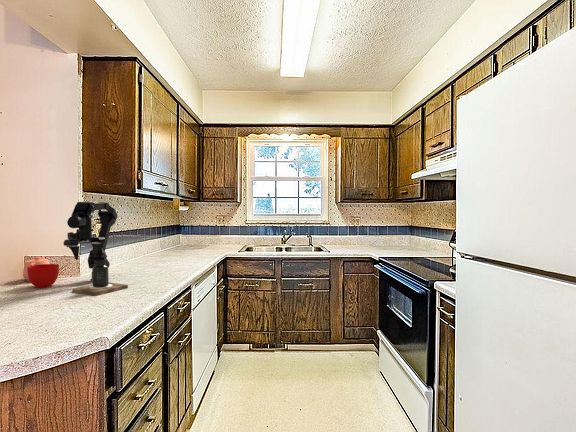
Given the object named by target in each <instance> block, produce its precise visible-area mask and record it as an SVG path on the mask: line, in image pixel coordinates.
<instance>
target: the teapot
mask: <svg viewBox="0 0 576 432" xmlns="http://www.w3.org/2000/svg"><path fill="white" fill-rule="evenodd" d="M41 264H51V263H50V261H49V259H48V258H45V255H42V256H41V257H40V256H34V257H33V259H28V260H26V261H25V263H24V266H23V270H22V271H23V272H22V277H23V278H24V279H25V280H26V282H30V280H29V278H28V273H27V267H29V266H33V265H41Z"/></svg>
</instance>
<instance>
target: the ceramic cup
mask: <svg viewBox="0 0 576 432" xmlns="http://www.w3.org/2000/svg"><path fill="white" fill-rule="evenodd" d="M59 271H60V265H59V264H57V263H50V264H41V265H33V266H29V267H27V273H28V278H29V280H30V281H29V282H30V283H31V285H33V286H34V287H35V288H36V289H43V288H44V289H45V288H50V287H52V286H53V284H55V282H56V281H57V280H58V277H59V273H60V272H59Z"/></svg>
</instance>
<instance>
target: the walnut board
mask: <svg viewBox="0 0 576 432" xmlns="http://www.w3.org/2000/svg"><path fill="white" fill-rule="evenodd" d="M128 285H129V284H124V283H117V282H110V281H109V285H108V286H105V287H93V283H92V284H88V285H84V286H83V285H82V286H78V287H73V288H71V292H72V293H76V294H77V293H78V294H83V295H89V296H94V297H95V296H96V297H97V296H100V295H104V294H109V293H113V292H117V291H120V290H122V291H123V290H125V289H126V290H127V289H128V288H129V286H128Z"/></svg>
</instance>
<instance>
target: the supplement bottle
mask: <svg viewBox="0 0 576 432" xmlns="http://www.w3.org/2000/svg"><path fill="white" fill-rule="evenodd" d="M105 264H106V260H95V261H94V265H95V266H94V267H93V268H91V272H92V274H91V279H92V280H91V281H92V284H93V287H105V286H108V285H109V282H110V281H109V280H110V278H109V268H108V266H106V265H105Z"/></svg>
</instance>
